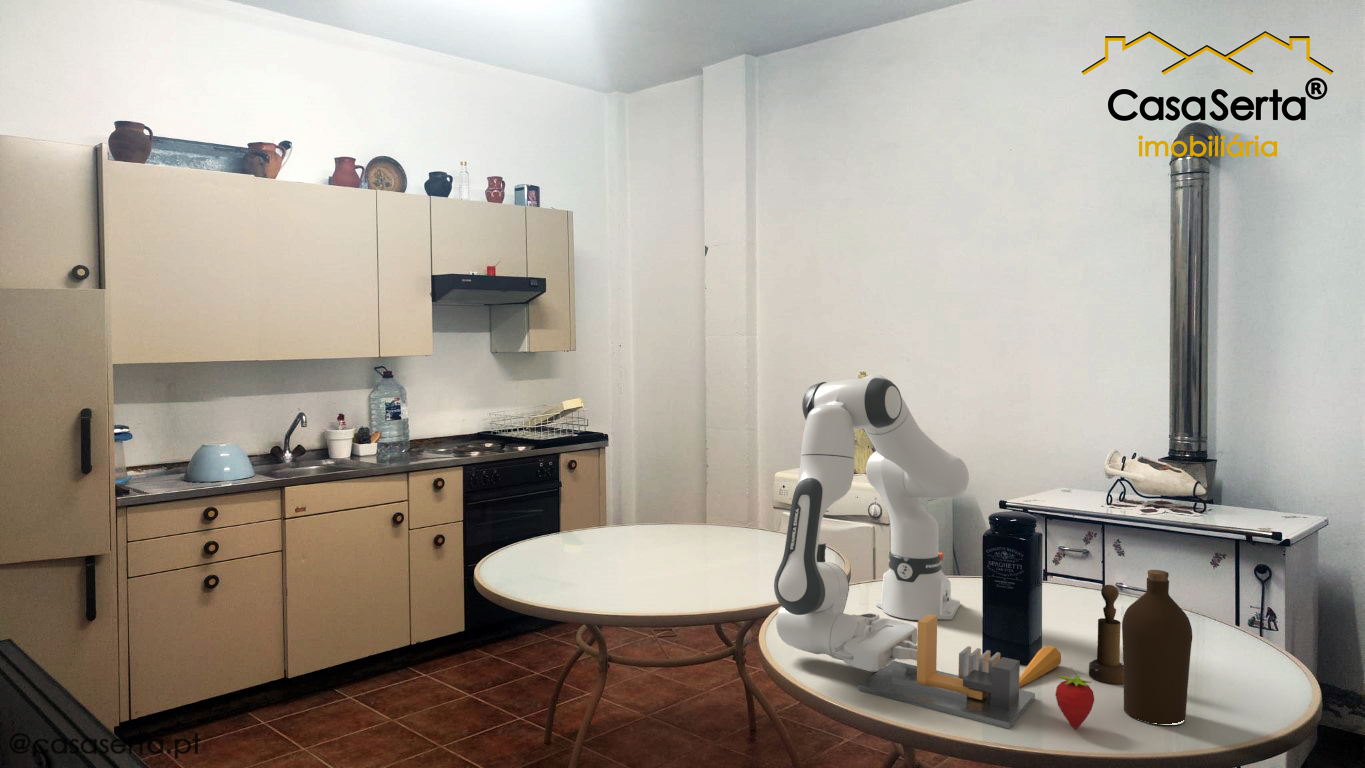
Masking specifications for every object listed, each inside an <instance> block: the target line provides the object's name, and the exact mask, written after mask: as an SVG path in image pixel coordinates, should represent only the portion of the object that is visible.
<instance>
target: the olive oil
mask: <svg viewBox="0 0 1365 768" xmlns="http://www.w3.org/2000/svg"><path fill="white" fill-rule="evenodd" d="M1169 575H1170V573H1169V572H1167V571H1165V570H1160V569H1149V570H1147V578H1146V591H1145V593H1143V594H1142V596H1139V598H1138V599H1136V600H1135V601H1133V603H1131V604H1130V605H1129V606H1128V607H1127V609H1126V610H1125V612H1124V615H1123V617H1122V622H1121V630H1122V631H1121V632H1122V633H1121V634H1122V635H1121V637H1122V638H1121V639H1122V664H1123V673H1124V683H1123V710H1124V712H1125V714H1126V715H1127V716H1129V717H1131V718H1132V717H1133V719H1134V718H1136V719H1135V720H1137V719H1139V720H1142V721H1146V722H1149V723H1157V724H1172V723H1178V722H1181V721H1183V720H1185V721H1186V719H1185V718H1186V717H1187V704H1188V703H1187V702H1188V689H1189V678H1190V677H1189V676H1190V663H1191V655H1192V643H1193V628H1192V624H1191V621H1190V619H1189V617H1188V615H1187V614H1186V613H1185V611H1184V610H1183V609H1182V608H1181V607H1180V606H1179V605H1178V603H1177V602H1176V601H1175V600H1174V599H1173V598H1172V597H1171V596H1170V594H1169V590H1170V580H1169ZM1139 720H1138V721H1139ZM1142 721H1141V722H1142ZM1149 723H1148V724H1149Z"/></svg>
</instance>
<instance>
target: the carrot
mask: <svg viewBox="0 0 1365 768" xmlns="http://www.w3.org/2000/svg"><path fill="white" fill-rule="evenodd" d="M1061 663H1062V653H1061V652H1060V650H1059V649H1058V648H1057V647H1055V646H1053V645H1052V646H1051V645H1045V646H1043V647H1042V648H1040V649H1039V650H1038V651H1037V652H1036V654H1035V655H1034V656H1033V658H1032V659H1031V660H1030V662H1028V664H1027V666H1026V667H1025V668H1024V670H1023V672H1021V674H1019V688H1021V687H1023V686H1025V685H1027V684H1029V683H1032V681H1034V680H1036V679H1038V678H1039V677H1042V676H1043V675H1045V674H1046V673H1048V672H1050V671H1052V670H1054V669H1055V668H1057V667H1058V666H1060V665H1061Z"/></svg>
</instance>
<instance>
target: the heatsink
mask: <svg viewBox="0 0 1365 768" xmlns="http://www.w3.org/2000/svg"><path fill="white" fill-rule="evenodd" d="M981 652H982V649H981V648H975V650H973V651H972V646H969V645H967V646H966V647H965V648H963V650H961V651H960V652H959V653H958V674H954V673H950V672H949V673H948V672H944V671H941V670H936V673H938V674H942V675H947V676H951V677H955V678H960V679H963V686H964V687H969V688H973V689H977V690H981V691H986V692H989V693H988V694H987V695H986V696H985V697H984V698H983V699H982V700H980V699H976V698H972V697H968V694H964V693H959V692H955V691H951V690H947V689H943V688H939V687H934V686H930V685H926V684H922V683H918V682H917V665H914V664H910V663H905V662H901V661H896V660H893V661H892V662H890V663H889V664H888V665H886V666H885V667H883V668H882V669H880V670H879V671H876V673H875V672H874V674H873V675H871V676H870V677H868V678H867V679H866V680H863V682H861V683H860V684H858V691H860V692H862V693H863V692H864V693H868V694H871V695H875V696H880V697H884V698H886V699H887V698H888V699H891V700H895V701H899V702H902V703H907V704H910V705H915V706H919V707H921V708H927V709H930V710H934V711H937V712H938V711H939V712H941V713H945V714H946V713H947V714H950V715H953V716H958V717H961V718H966V719H969V720H974V721H977V722H981V723H985V724H987V725H988V724H989V725H993V726H995V727H996V726H997V727H1001V728H1004V729H1011V728H1012V726H1013V725H1014V724H1015V723H1016V722H1017V720H1019V718H1020V717H1021V716H1022V714H1023V713H1025V711H1026V710H1027V709H1028V707H1029V706H1030V705H1031V704H1032V703H1033V702H1034V701H1035V700H1036V692H1032V691H1028V690H1023V689H1021V688H1020V687H1019V677H1020V662H1021V661H1020V660H1019V659H1018V660H1017V659H1013V658H1008V657H1003V656H1002V657H1001V652H998V651H997V652H995V654H993V655H992V656H991V650H990V649H986V651H985V652H984V653H982V654H981Z"/></svg>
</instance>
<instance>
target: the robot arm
mask: <svg viewBox="0 0 1365 768" xmlns="http://www.w3.org/2000/svg"><path fill="white" fill-rule="evenodd" d="M801 407H802V408H801V409H802V414H803V417H804V420H805V424H804V429H803V435H802V440H801V448H800V463H799V472H798V477H797V478H798V479H797V484H796V487H795V488H794V489H795V490H794V492H793V496H792V500H791V505H790V506H791V507H790V512H789V518H788V525H787V532H786V533H787V534H786V539H785V545H784V553H783V556H782V560H781V562H780V565H779V567H778V569H777V571H776V573H775V576H774V581H773V582H774V583H773V591H774V595H775V598H776V599H777V602H778V603H779V605H780V606H781V607H780V608H779V609H778V611H777V614H776V618H775V619H776V620H775V625H776V627H775V628H776V630H777V631H776V633H777V634H778V637H779V638H780V640H781V641H782V642H783V643H785V644H786V645H788V646H790V647H792V648H793V649H797V650H799V651H804V652H807V653H810V654H814V655H827V656H829V657H831V658H833V659H836V660H840V661H843V662H844V663H845V664H846V665H848V666H851V667H854V668H856V669H859V670H864V671H867V672H874V673H875V672H878V671H880V670H881V669H883V668H884V667H885V666H887V665H888V664H890V663H891V662H893V661H896V659H897V660H915V661H917V636H918V627H916V626H915V625H913V624H910V623H907V622H903V621H901V620H896V619H892V618H887V617H884V618H883V617H881V618H880V614H878V613H873V612H871V613H870V612H868V613H864V614H863V613H862V614H849V613H844V611H845V607H846V606H847V600H848V596H849V592H850V582H849V579H848V575H847V573H846V571H844V569H842V567H840V565H838V564H836V563H833V562H826V561H825V562H817V550H818V543H819V541H820V534H821V525H822V521H823V517H824V515H825V514H826V512H827V511H828V509H829V508H830V507H831V506H832V505H833V504H835V503H836V502H838V501H840V500H841V499H843V498H844V497H845V496H846V495H847V494H848V493H849V491H850V490H851V488H852V484H853V481H854V480H853V479H854V475H855V474H854V473H855V460H856V458H855V455H856V444H855V443H856V441H855V432H854V431H855V430H864V432H865V434H866V435H867V437H868V439H869V442H870V443H871V445H872V446H873V448H874V452H872V454H871V455H870V456H869V458H868V459H867V463H866V466H865V473H866V474H865V475H866V478H867V481H868V483H869V484H870V486H871V487H873V488H874V489H875V491H876V492H877V493H878V494H879V496H880V498H881V499H882V501H883V503H884V506H885V508H886V511H887V514H888V517H889V524H890V526H889V527H890V550H889V552H888V554H889V555H888V560H887V561H888V568H889V569H888V570H887V571H885V572H884V573H883V576H882V587H881V599H878V600H876V603H875V606H877V607H878V608H880V609H881V610H882V611H883V612H884V613H885V614H887V615H889V616H891V617H895V618H899V619H905V620H912V621H913V620H914V621H919V620H921V619H922V618H924V617H925V616H927V615H928V614H931V615H936V616H937V620H946V621H947V620H949V621H950V620H953V619H954V617H955V615H956V613H957V612H958V609H959V608H960V606H961V601H960V599H957V598H956V597H953V596H951V595H952V594H951V593H952V592H951V591H952V590H951V588H952V586H951V585H952V584H951V581H950V580H949V578H948V576H946V574H945V573H944V572H943V571H942V562H943V561H944V559H945V558H944V557H945V554H944V553H943V552H939V540H940V539H939V538H940V537H939V536H940V535H939V534H940V533H939V531H940V529H939V528H940V527H939V523H938V521H937V519H936V517H934V515H932V514H931V513H929V512H928V511H927V510H926V509H925V507H924V505H923V504H922V501H921V498H923V499H928V500H929V499H931V500H936V501H939V500H940V501H943V500H953V499H954V500H955V499H958V498H960V497H961V496H962V495H963V494H964V493H965V491H966V489H967V488H968V485H969V479H970V475H969V470H968V467H967V464H966V463H965V462H964V460H963V459H962V458H960V457H957V456H955V455H953V454H952V453H950V452H948V451H946V450H945V449H943V448H942V447H940V446H939V444H937V443H936V442H935V441H933V440H932V439H931V438H930V437H929V436H928V435H927V434H926V433H924V431H922V429H921V428H920V426H919V424H918V423H917V422H916V419H915V418H914V417H913V414H912V413H911V411H910V409H909V407H908V405H907V403H906V401H905V400H904V398H903V397H902V394H901V392H900V390H899V388H898V386H896V384H895V383H894V382H893V381H891V380H889V379H888V378H887V377H885V376H883V375H881V374H869V375H866V376H864V377H862V378H847V379H840V380H834V381H829V382H826V381H822V382H818V383H816V384H813V385H811V386H810V387H808V389H807V390H806V392H805V393H804V395H803V397H802V405H801Z"/></svg>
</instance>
